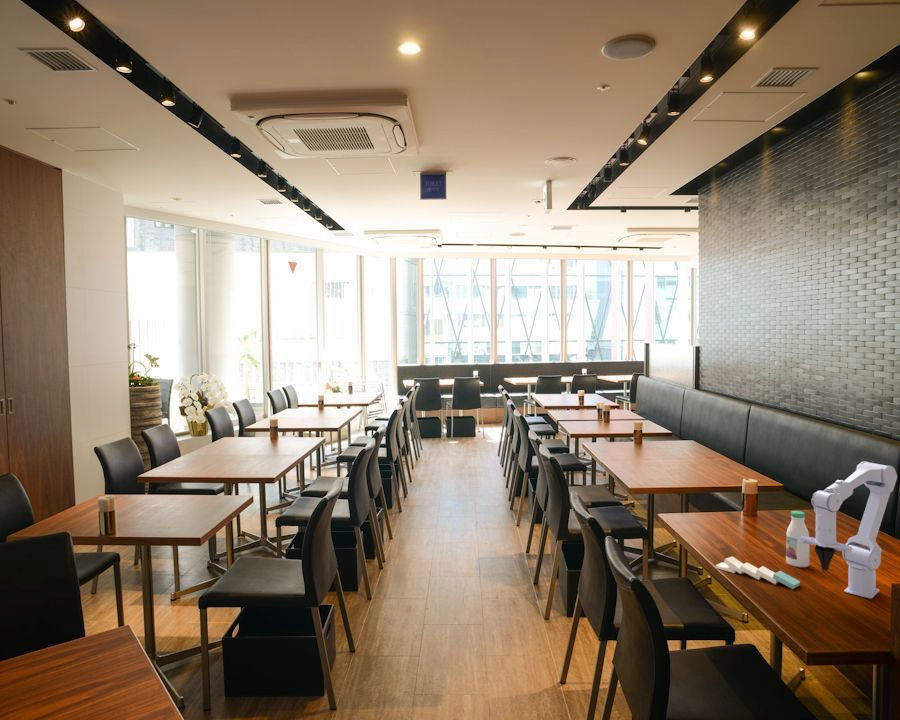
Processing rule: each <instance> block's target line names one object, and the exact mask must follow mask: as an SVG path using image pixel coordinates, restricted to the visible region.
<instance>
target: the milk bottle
mask: <svg viewBox="0 0 900 720" xmlns="http://www.w3.org/2000/svg"><path fill="white" fill-rule="evenodd" d="M790 517H791V521H790V523H789V525H788V526H787V530H786V536H785V537H786V539H785V562H786V563H787V564H788V565H789V566H792V567H795V568H796V567H798V568H808V567H809V566H810V544H806V543H804V544H803V543H800V537H802V536H805V537H810V533H809V530H808V528H807V526H806V523H805V519H806V514H805V512H804V511H801V510H792V511H790Z"/></svg>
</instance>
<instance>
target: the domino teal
mask: <svg viewBox="0 0 900 720" xmlns="http://www.w3.org/2000/svg"><path fill="white" fill-rule="evenodd" d="M773 579H775V580H777V581H779V582H778V583H781V584H783V585H785V586H786V587H788V588H789V589H791V590H794V589H796V588H798V587H799V586H800V585H801V581H800V580H799V579H796V578H795V577H793V576H791V575H789V574H787V573H785V572H784V571H781V570H779V571H777V572H775V574H774V575H773Z"/></svg>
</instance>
